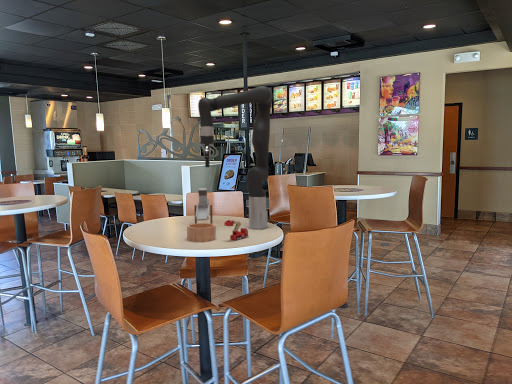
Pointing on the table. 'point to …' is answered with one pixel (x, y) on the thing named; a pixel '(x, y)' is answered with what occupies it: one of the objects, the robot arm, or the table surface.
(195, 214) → the catapult stand
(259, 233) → the table surface
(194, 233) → the terracotta shallow bowl
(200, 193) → the grey angular piece
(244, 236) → the toy fire truck
